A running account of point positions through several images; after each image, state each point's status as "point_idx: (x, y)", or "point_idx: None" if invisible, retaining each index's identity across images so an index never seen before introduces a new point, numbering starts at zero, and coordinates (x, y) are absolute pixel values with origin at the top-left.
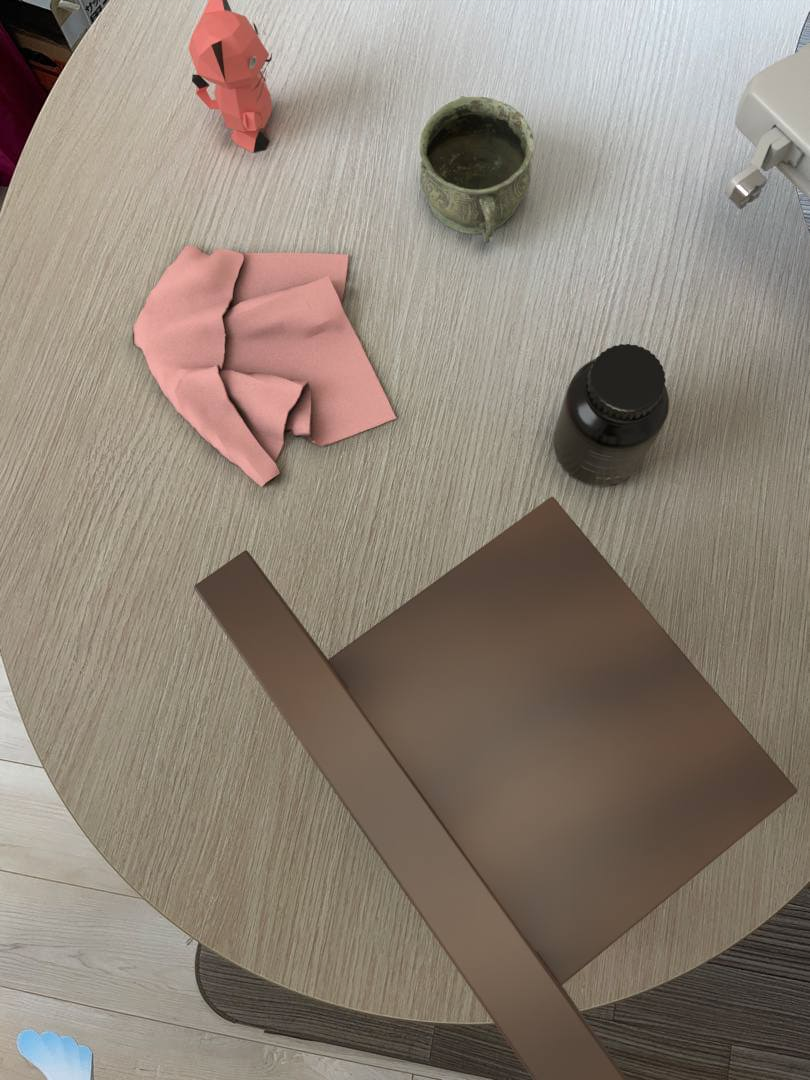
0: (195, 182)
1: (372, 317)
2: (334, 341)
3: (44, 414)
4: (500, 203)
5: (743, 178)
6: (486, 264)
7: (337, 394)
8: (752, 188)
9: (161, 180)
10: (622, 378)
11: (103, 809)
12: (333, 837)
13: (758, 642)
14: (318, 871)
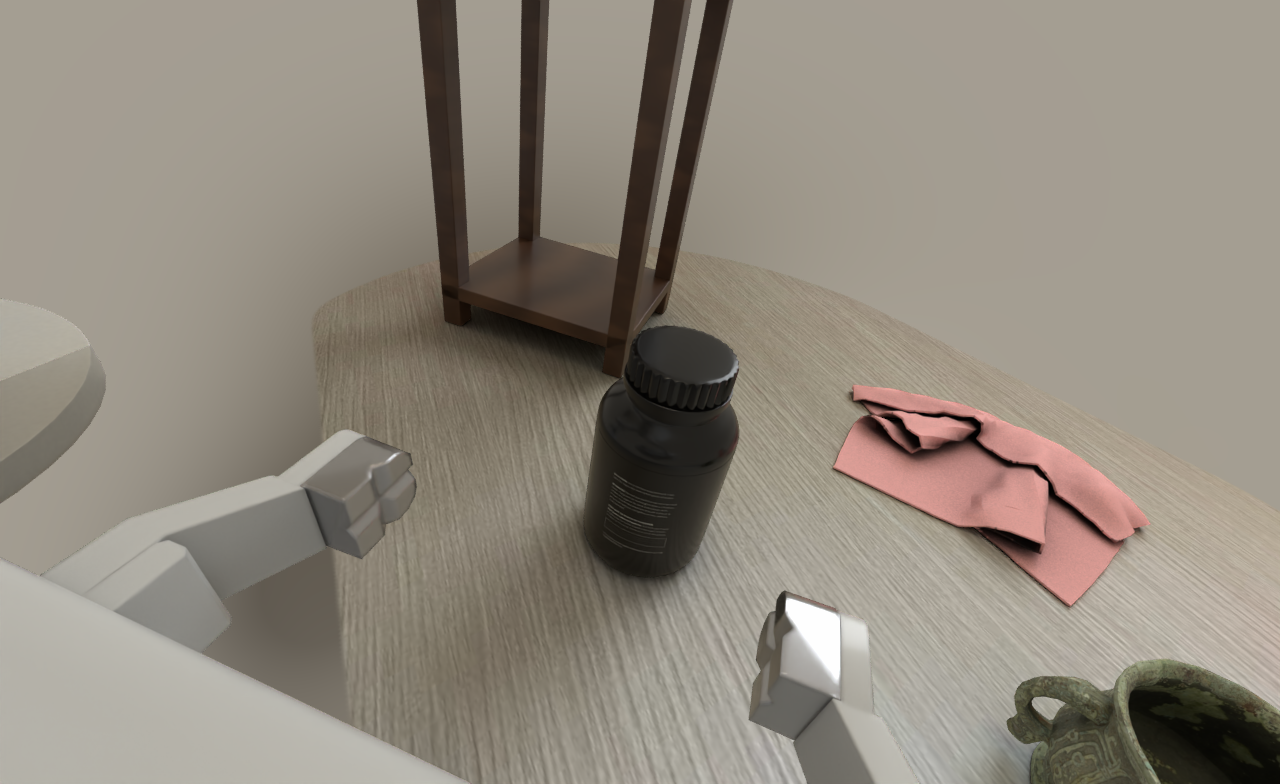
0: (1261, 604)
1: (962, 550)
2: (953, 505)
3: (1002, 383)
4: (1083, 743)
5: (842, 630)
6: (966, 703)
7: (892, 464)
8: (792, 609)
9: (1272, 586)
10: (690, 349)
11: (745, 267)
12: None
13: (376, 422)
14: None
